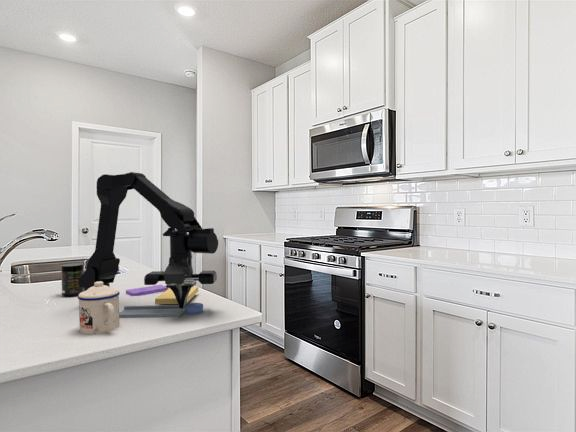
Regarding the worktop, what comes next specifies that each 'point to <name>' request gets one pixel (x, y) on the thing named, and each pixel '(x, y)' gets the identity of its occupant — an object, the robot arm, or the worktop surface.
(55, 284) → the worktop surface
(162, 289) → the sponges
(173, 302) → the cover
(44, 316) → the worktop surface
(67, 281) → the supplement container
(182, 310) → the grey flanged channel
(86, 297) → the teacup with lid
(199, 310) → the blue rounded dome
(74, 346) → the worktop surface
